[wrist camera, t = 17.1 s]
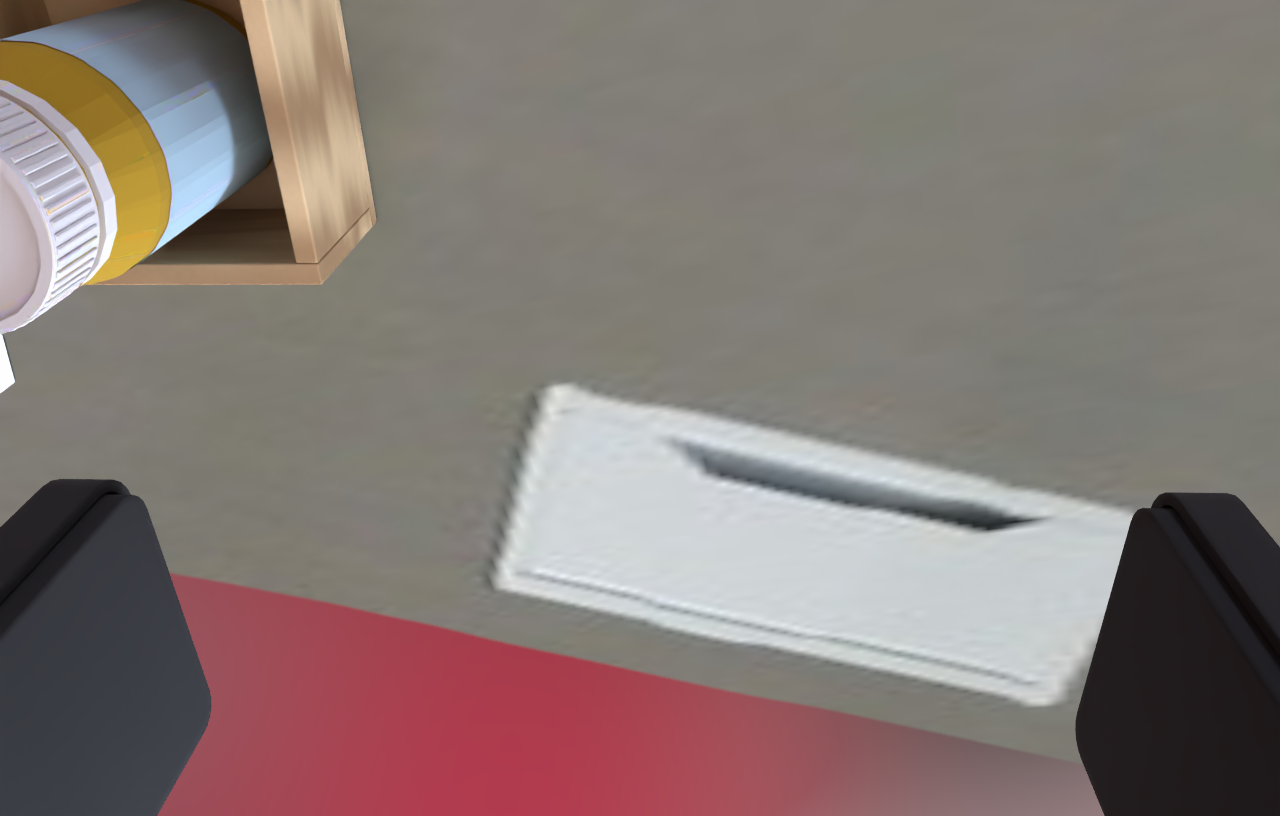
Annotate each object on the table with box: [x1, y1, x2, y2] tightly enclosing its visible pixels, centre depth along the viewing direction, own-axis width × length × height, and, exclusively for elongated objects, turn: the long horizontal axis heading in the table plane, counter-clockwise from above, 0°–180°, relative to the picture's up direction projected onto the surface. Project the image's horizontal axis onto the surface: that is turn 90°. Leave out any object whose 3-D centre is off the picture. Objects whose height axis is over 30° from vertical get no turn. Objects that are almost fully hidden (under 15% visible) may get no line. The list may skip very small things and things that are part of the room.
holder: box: [0, 0, 377, 285], centre depth 34 cm, size 12×12×7 cm
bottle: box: [0, 0, 273, 334], centre depth 30 cm, size 7×7×15 cm
